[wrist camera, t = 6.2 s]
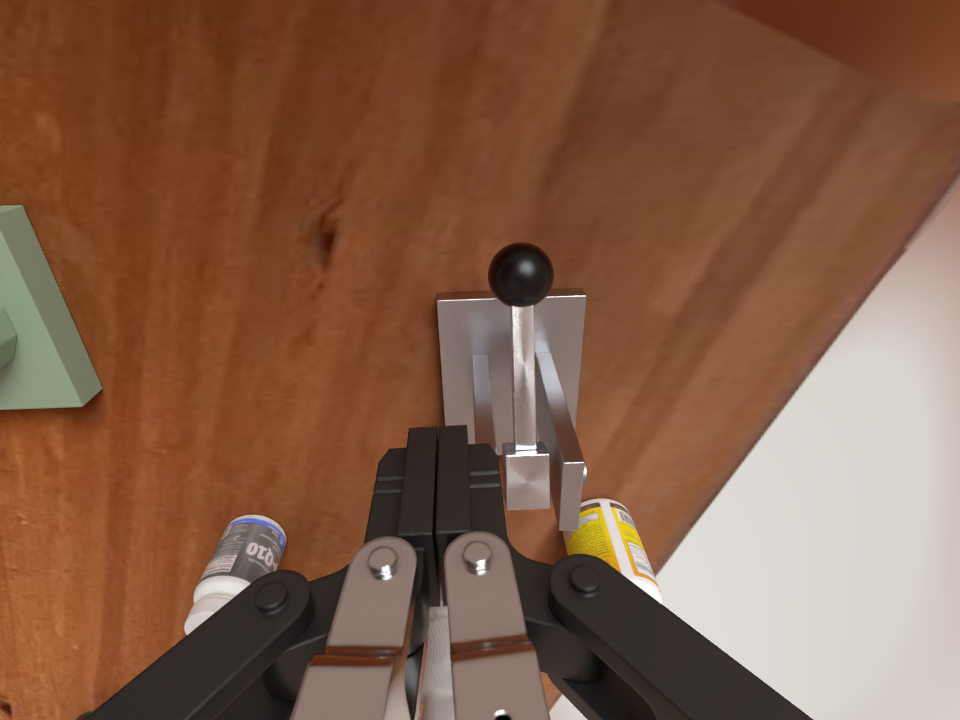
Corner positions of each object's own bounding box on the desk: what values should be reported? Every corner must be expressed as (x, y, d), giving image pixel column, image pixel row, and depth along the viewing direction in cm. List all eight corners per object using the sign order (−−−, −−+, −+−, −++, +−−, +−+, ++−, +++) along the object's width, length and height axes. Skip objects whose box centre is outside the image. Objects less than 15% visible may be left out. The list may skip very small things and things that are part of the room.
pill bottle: (299, 544, 43) (266, 643, 36) (249, 561, 44) (207, 661, 37) (266, 505, 41) (224, 602, 34) (214, 523, 42) (161, 621, 34)
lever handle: (485, 247, 27) (488, 239, 24) (547, 245, 28) (558, 237, 24) (493, 491, 29) (496, 514, 26) (552, 489, 29) (562, 512, 26)
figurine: (459, 592, 47) (458, 799, 34) (414, 586, 46) (396, 795, 33) (485, 515, 42) (496, 719, 29) (436, 507, 42) (424, 712, 29)
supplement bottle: (553, 541, 44) (578, 664, 35) (570, 490, 41) (601, 609, 32) (618, 547, 44) (658, 669, 36) (639, 498, 42) (688, 617, 33)
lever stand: (437, 292, 33) (427, 399, 23) (582, 287, 33) (638, 391, 23) (447, 446, 39) (442, 586, 28) (570, 442, 39) (610, 579, 29)
